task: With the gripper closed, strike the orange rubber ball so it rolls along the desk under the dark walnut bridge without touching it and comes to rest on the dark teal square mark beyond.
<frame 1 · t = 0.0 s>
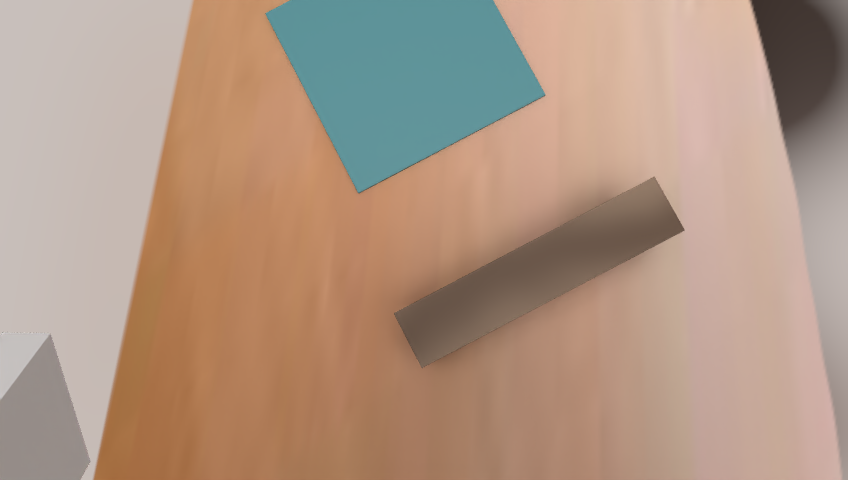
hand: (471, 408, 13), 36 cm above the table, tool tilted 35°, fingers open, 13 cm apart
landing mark: (403, 54, 50), on the table
bridge: (524, 280, 48), on the table
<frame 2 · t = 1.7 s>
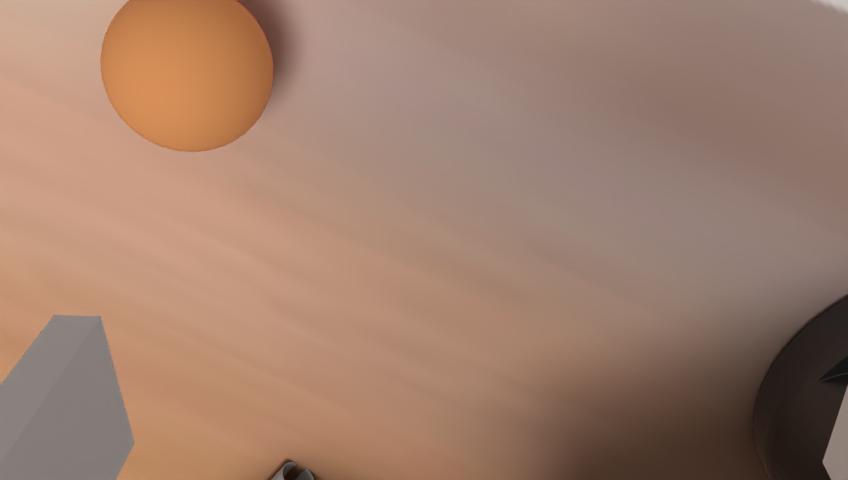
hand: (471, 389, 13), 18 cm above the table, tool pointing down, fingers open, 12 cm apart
ball: (189, 68, 27), on the table
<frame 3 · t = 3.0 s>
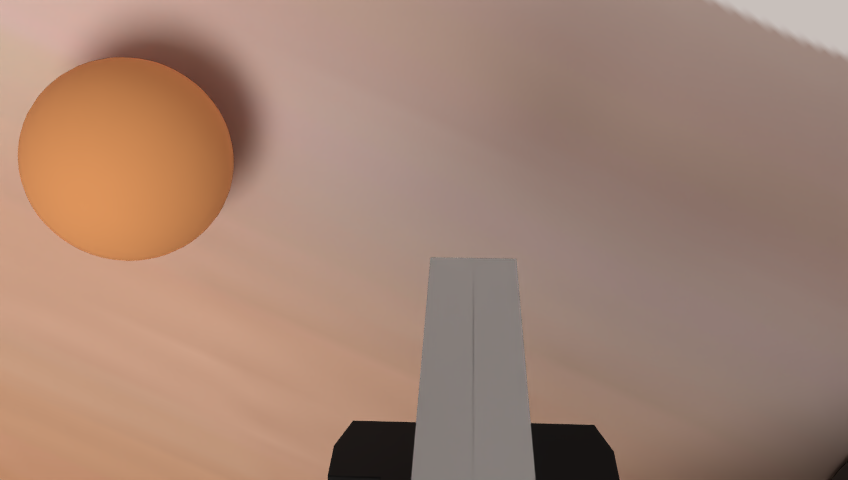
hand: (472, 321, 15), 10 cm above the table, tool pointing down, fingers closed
ball: (130, 160, 22), on the table
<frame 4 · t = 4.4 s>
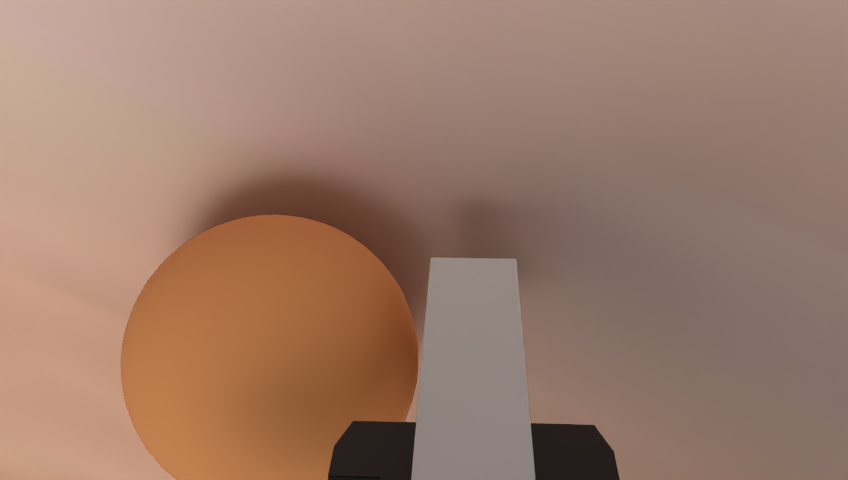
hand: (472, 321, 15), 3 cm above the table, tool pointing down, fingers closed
ball: (274, 358, 15), on the table
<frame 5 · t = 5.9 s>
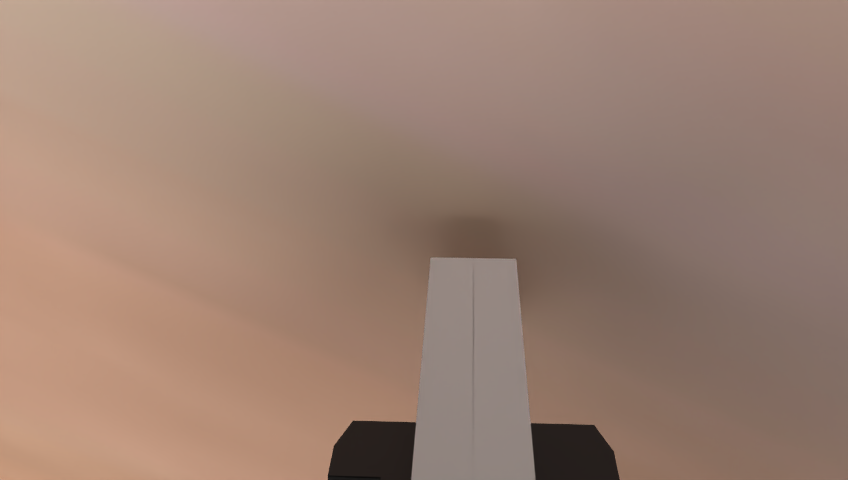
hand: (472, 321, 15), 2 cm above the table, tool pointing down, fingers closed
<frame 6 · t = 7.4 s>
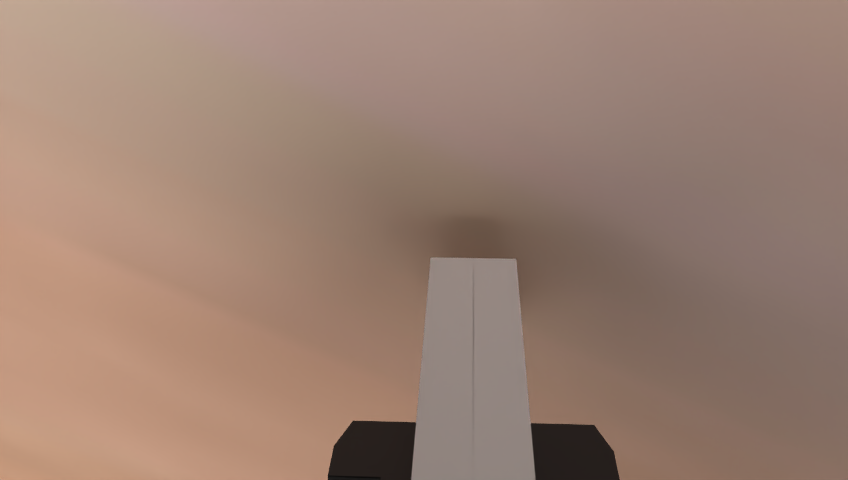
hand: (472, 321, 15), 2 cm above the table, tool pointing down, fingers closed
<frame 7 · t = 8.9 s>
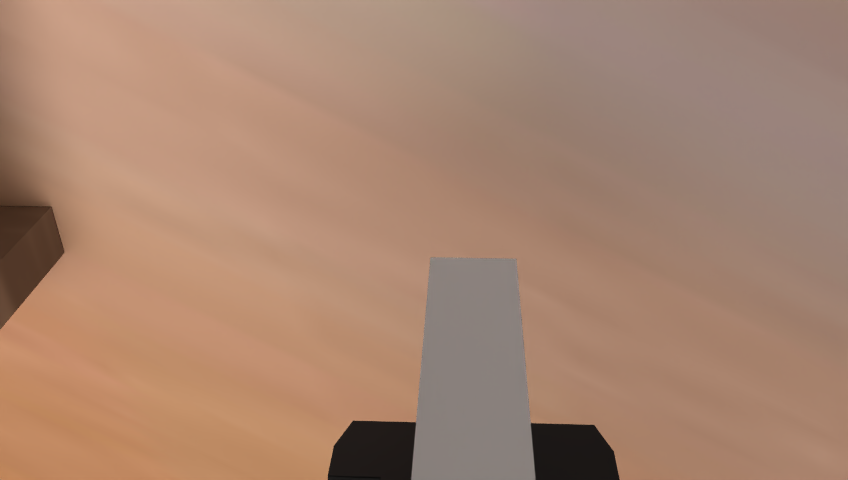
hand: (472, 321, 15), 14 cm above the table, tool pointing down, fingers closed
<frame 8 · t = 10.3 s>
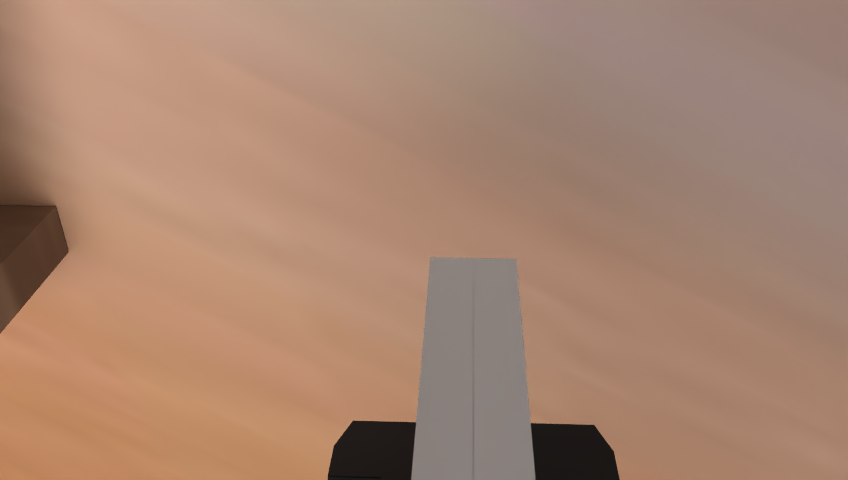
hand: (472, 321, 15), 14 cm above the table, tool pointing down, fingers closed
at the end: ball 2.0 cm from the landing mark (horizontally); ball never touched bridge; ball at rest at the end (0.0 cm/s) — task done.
